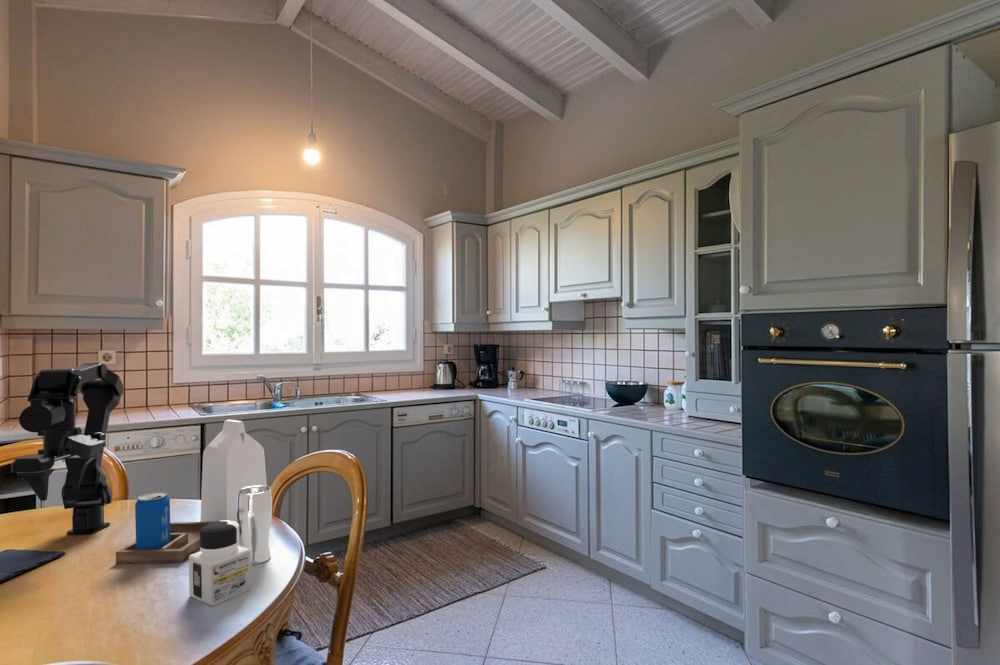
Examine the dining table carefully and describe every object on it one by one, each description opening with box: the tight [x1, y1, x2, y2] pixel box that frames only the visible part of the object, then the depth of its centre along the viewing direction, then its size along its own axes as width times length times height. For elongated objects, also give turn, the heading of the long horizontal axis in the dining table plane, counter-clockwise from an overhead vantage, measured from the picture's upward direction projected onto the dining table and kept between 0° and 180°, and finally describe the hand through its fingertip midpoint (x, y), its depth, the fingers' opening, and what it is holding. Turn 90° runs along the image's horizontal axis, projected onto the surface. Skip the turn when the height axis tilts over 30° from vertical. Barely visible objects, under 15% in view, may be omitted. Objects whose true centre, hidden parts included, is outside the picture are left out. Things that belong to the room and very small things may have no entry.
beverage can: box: [134, 491, 171, 550], centre depth 121 cm, size 6×6×12 cm
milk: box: [199, 419, 268, 523], centre depth 142 cm, size 12×12×26 cm
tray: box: [115, 521, 212, 565], centre depth 125 cm, size 18×14×3 cm
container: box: [188, 520, 252, 607], centre depth 103 cm, size 8×8×13 cm
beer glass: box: [237, 485, 273, 566], centre depth 118 cm, size 7×7×15 cm
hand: (60, 494), depth 123 cm, fingers open, 9 cm apart
